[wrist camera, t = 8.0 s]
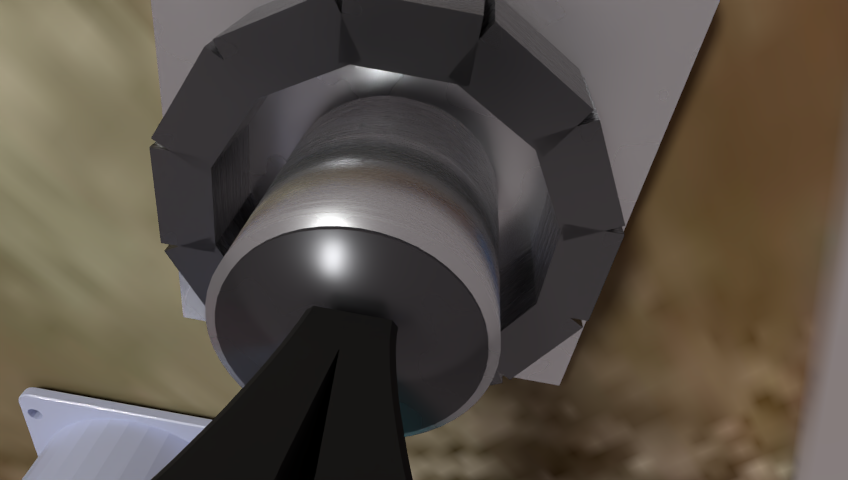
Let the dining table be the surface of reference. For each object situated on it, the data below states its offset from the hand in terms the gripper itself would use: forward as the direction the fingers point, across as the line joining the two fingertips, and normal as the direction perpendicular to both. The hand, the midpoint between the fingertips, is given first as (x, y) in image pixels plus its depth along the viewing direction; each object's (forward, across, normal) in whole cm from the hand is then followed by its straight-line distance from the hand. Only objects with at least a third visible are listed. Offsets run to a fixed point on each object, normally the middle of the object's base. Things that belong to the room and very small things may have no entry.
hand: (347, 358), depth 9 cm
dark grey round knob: (+6, 0, 0) cm, 6 cm away
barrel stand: (+7, 0, 0) cm, 7 cm away
